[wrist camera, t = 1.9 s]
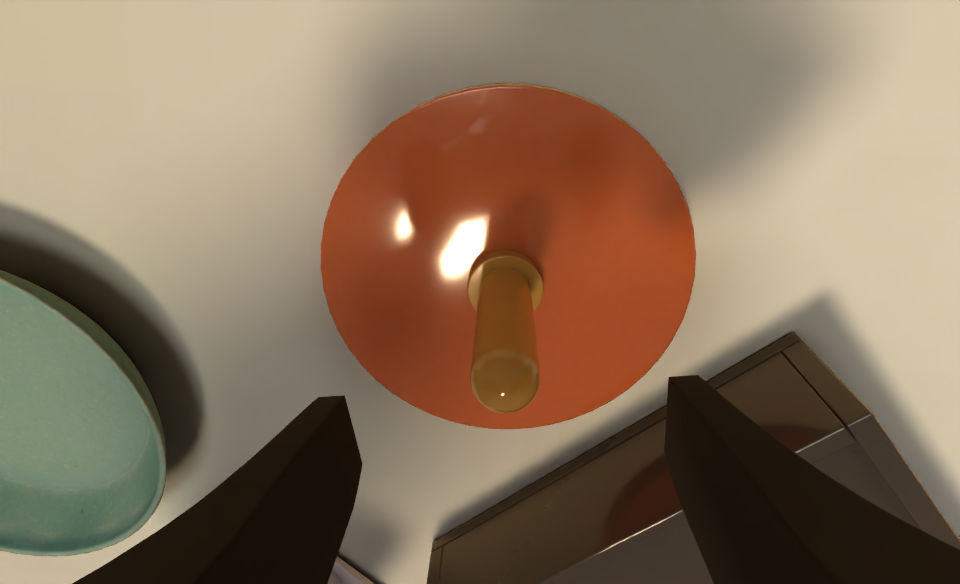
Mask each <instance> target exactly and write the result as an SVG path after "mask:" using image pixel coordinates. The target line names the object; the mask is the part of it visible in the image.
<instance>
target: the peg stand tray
mask: <svg viewBox="0 0 960 584" xmlns="http://www.w3.org/2000/svg"><path fill="white" fill-rule="evenodd" d="M707 383H708V384H709V385H710V386H711V387H713V388H714V389H715V390H716V391H717V392H718V393H720V394H721V395H722V396H723V397H724V398H726V399H727V400H728V401H729V402H730V403H732V404H733V405H734V406H735V407H736V408H738V409H739V410H740V411H741V412H742V413H744V414H745V415H746V416H747V417H749V418H750V419H751V420H752V421H753V422H755V423H756V424H757V425H759V426H760V427H761V428H762V429H764V430H765V431H766V432H767V433H769V434H770V435H771V436H773V437H774V438H775V439H777V440H778V441H779V442H781V443H782V444H783V445H785V446H786V447H787V448H789V449H790V450H791V451H793V452H794V453H796V454H797V455H799V456H800V457H801V458H803V459H804V460H806V461H807V462H809V463H810V464H811V465H813V466H814V467H816V468H817V469H819V470H820V471H822V472H823V473H825V474H826V475H828V476H829V477H831V478H832V479H834V480H835V481H837V482H838V483H840V484H842V485H843V486H845V487H847V488H848V489H850V490H852V491H853V492H855V493H856V494H858V495H860V496H861V497H863V498H865V499H866V500H868V501H869V502H871V503H873V504H875V505H876V506H878V507H880V508H882V509H883V510H885V511H887V512H889V513H890V514H892V515H894V516H896V517H897V518H899V519H901V520H903V521H905V522H907V523H909V524H911V525H913V526H914V527H916V528H918V529H920V530H922V531H924V532H926V533H928V534H930V535H931V536H933V537H935V538H937V539H939V540H941V541H943V542H945V543H947V544H949V545H951V546H953V547H955V548H957V549H959V550H960V540H959V539H958V537H957V536H956V534H955V533H954V531H953V530H952V528H951V527H950V526H949V524H948V523H947V521H946V520H945V518H944V517H943V515H942V514H941V512H940V511H939V509H938V508H937V507H936V505H935V504H934V502H933V501H932V499H931V498H930V496H929V495H928V493H927V492H926V490H925V489H924V488H923V486H922V485H921V483H920V482H919V480H918V479H917V477H916V476H915V474H914V473H913V471H912V470H911V469H910V467H909V466H908V464H907V463H906V461H905V460H904V458H903V457H902V455H901V454H900V452H899V451H898V450H897V448H896V447H895V445H894V444H893V442H892V441H891V439H890V438H889V436H888V435H887V434H886V432H885V431H884V429H883V428H882V426H881V425H880V423H879V422H878V420H877V419H876V417H875V416H874V415H873V413H872V412H871V411H870V410H869V409H868V408H867V407H866V406H865V405H864V404H863V403H862V402H861V401H860V400H859V399H858V397H857V396H856V395H855V394H854V393H853V392H852V391H851V390H850V389H849V388H848V387H847V386H846V385H845V384H844V383H843V382H842V381H841V380H840V379H839V378H838V377H837V376H836V375H835V374H834V373H833V372H832V371H831V370H830V369H829V368H828V367H827V366H826V364H825V363H824V362H823V361H822V360H821V359H820V358H819V357H818V356H817V355H816V354H815V353H814V352H813V351H812V350H811V349H810V348H809V347H808V346H807V345H806V344H805V343H804V342H803V341H802V340H801V339H800V338H799V337H798V336H797V335H796V334H795V333H794V332H792V333H790V334H788V335H786V336H785V337H783V338H781V339H780V340H778V341H776V342H774V343H773V344H771V345H769V346H768V347H766V348H764V349H762V350H761V351H759V352H757V353H756V354H754V355H752V356H750V357H749V358H747V359H745V360H744V361H742V362H740V363H738V364H737V365H735V366H733V367H732V368H730V369H728V370H727V371H725V372H723V373H721V374H720V375H718V376H716V377H715V378H713V379H711V380H709V381H708V382H707ZM666 413H667V406H665V407H663V408H661V409H660V410H658V411H656V412H655V413H653V414H651V415H649V416H648V417H646V418H644V419H643V420H641V421H639V422H637V423H636V424H634V425H632V426H631V427H629V428H627V429H625V430H624V431H622V432H620V433H619V434H617V435H615V436H614V437H612V438H610V439H608V440H607V441H605V442H603V443H602V444H600V445H598V446H596V447H595V448H593V449H591V450H590V451H588V452H586V453H584V454H583V455H581V456H579V457H578V458H576V459H574V460H572V461H571V462H569V463H567V464H566V465H564V466H562V467H560V468H559V469H557V470H555V471H554V472H552V473H550V474H548V475H547V476H545V477H543V478H542V479H540V480H538V481H536V482H535V483H533V484H531V485H530V486H528V487H526V488H524V489H523V490H521V491H519V492H518V493H516V494H514V495H512V496H511V497H509V498H507V499H506V500H504V501H502V502H500V503H499V504H497V505H495V506H494V507H492V508H490V509H489V510H487V511H485V512H483V513H482V514H480V515H478V516H477V517H475V518H473V519H471V520H470V521H468V522H466V523H465V524H463V525H461V526H459V527H458V528H456V529H454V530H453V531H451V532H449V533H447V534H446V535H444V536H442V537H441V538H439V539H437V540H435V541H434V542H433V543H432V550H431V552H432V553H431V557H430V564H429V571H428V578H427V584H714V583H713V581H712V578H711V576H710V574H709V571H708V569H707V567H706V564H705V562H704V559H703V557H702V555H701V552H700V550H699V547H698V545H697V543H696V540H695V538H694V536H693V533H692V531H691V528H690V526H689V524H688V521H687V519H686V516H685V514H684V511H683V509H682V507H681V504H680V502H679V499H678V497H677V494H676V491H675V488H674V484H673V481H672V477H671V474H670V470H669V467H668V463H667V459H666V455H665V452H664V444H665V428H666Z"/></svg>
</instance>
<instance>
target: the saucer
mask: <svg viewBox="0 0 960 584" xmlns="http://www.w3.org/2000/svg"><path fill="white" fill-rule="evenodd" d="M165 481H166V446H165V439H164V432H163V428H162V423H161V420H160V417H159V414H158V411H157V408H156V405H155V403H154V400H153V398H152V396H151V394H150V392H149V389H148V387H147V385H146V384H145V382H144V380H143V378H142V376H141V375H140V373H139V372H138V370H137V369H136V367H135V366H134V364H133V363H132V361H131V360H130V359H129V357H128V356H127V355H126V353H125V352H124V351H123V350H122V349H121V347H120V346H119V345H118V344H117V343H116V342H115V341H114V340H113V339H112V338H111V337H110V336H109V335H108V334H107V333H106V332H105V331H104V330H103V329H102V328H101V327H100V326H99V325H98V324H96V323H95V322H94V321H93V320H91V319H90V318H89V317H88V316H86V315H85V314H84V313H83V312H81V311H80V310H78V309H77V308H75V307H74V306H72V305H71V304H69V303H68V302H66V301H65V300H63V299H61V298H60V297H58V296H56V295H54V294H52V293H51V292H49V291H47V290H45V289H43V288H41V287H39V286H37V285H35V284H33V283H31V282H29V281H27V280H24V279H22V278H20V277H17V276H15V275H12V274H10V273H7V272H5V271H2V270H0V551H6V552H11V553H15V554H24V555H34V556H71V555H78V554H82V553H89V552H92V551H97V550H100V549H103V548H105V547H109V546H112V545H115V544H117V543H118V542H120V541H123V540H124V539H126V538H128V537H130V536H131V535H132V534H134V533H135V532H136V531H138V530H139V529H140V528H141V527H142V526H143V525H144V524H145V523H146V522H147V521H148V520H149V518H150V517H151V516H152V515H153V513H154V511H155V510H156V508H157V506H158V505H159V502H160V500H161V497H162V495H163V491H164V487H165Z"/></svg>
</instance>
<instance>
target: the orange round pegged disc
mask: <svg viewBox="0 0 960 584" xmlns="http://www.w3.org/2000/svg"><path fill="white" fill-rule="evenodd" d="M695 259H696V250H695V239H694V229H693V225H692V221H691V217H690V213H689V209H688V206H687V203H686V201H685V199H684V196H683V194H682V191H681V189H680V186H679V184H678V182H677V181H676V179H675V177H674V176H673V174H672V173H671V171H670V169H669V168H668V166H667V164H666V163H665V161H664V160H663V159H662V158H661V157H660V155H659V154H658V153H657V152H656V151H655V149H654V148H653V147H652V146H651V145H650V143H649V142H648V141H647V140H645V139H644V138H643V137H642V136H641V135H640V134H639V133H638V132H636V131H635V130H634V129H633V128H632V127H631V126H630V125H628V124H627V123H626V122H624V121H623V120H621V119H620V118H618V117H617V116H615V115H614V114H612V113H611V112H609V111H608V110H606V109H605V108H603V107H601V106H599V105H597V104H595V103H593V102H591V101H589V100H586V99H584V98H582V97H580V96H578V95H575V94H571V93H568V92H565V91H561V90H558V89H555V88H551V87H545V86H538V85H532V84H525V83H494V84H486V85H479V86H471V87H467V88H463V89H460V90H456V91H452V92H449V93H445V94H442V95H440V96H438V97H435V98H433V99H431V100H429V101H426V102H424V103H422V104H419V105H418V106H416V107H415V108H413V109H411V110H410V111H408V112H406V113H405V114H403V115H401V116H400V117H398V118H397V119H396V120H394V121H393V122H392V123H391V124H389V125H388V126H387V127H386V128H385V129H383V130H382V131H381V132H380V133H378V134H377V135H376V136H375V137H374V138H373V139H372V140H371V141H370V142H369V143H368V144H367V145H366V146H365V147H364V148H363V150H362V151H361V152H360V153H359V154H358V155H357V156H356V157H355V159H354V160H353V162H352V163H351V165H350V166H349V168H348V169H347V171H346V172H345V174H344V175H343V177H342V178H341V181H340V183H339V185H338V187H337V189H336V191H335V193H334V195H333V197H332V200H331V203H330V206H329V209H328V212H327V216H326V219H325V222H324V229H323V235H322V242H321V273H322V280H323V287H324V292H325V296H326V299H327V303H328V307H329V310H330V313H331V315H332V317H333V320H334V322H335V324H336V327H337V329H338V331H339V333H340V334H341V336H342V338H343V340H344V341H345V343H346V345H347V346H348V348H349V349H350V351H351V352H352V353H353V355H354V356H355V357H356V358H357V360H358V361H359V362H360V364H361V365H362V366H363V367H364V368H365V369H366V370H367V371H368V372H369V373H370V374H371V375H372V376H373V377H374V378H375V379H376V380H377V381H378V382H379V383H381V384H382V385H383V386H384V387H386V388H387V389H388V390H389V391H391V392H392V393H393V394H395V395H396V396H398V397H400V398H401V399H403V400H404V401H406V402H407V403H409V404H411V405H413V406H415V407H417V408H419V409H421V410H423V411H425V412H427V413H429V414H432V415H435V416H438V417H440V418H443V419H446V420H449V421H453V422H457V423H461V424H465V425H469V426H476V427H483V428H491V429H521V428H533V427H539V426H545V425H551V424H555V423H559V422H562V421H566V420H569V419H573V418H575V417H578V416H580V415H583V414H585V413H588V412H590V411H593V410H595V409H596V408H598V407H600V406H602V405H604V404H606V403H608V402H610V401H611V400H613V399H614V398H616V397H617V396H619V395H620V394H622V393H623V392H625V391H626V390H627V389H629V388H630V387H631V386H632V385H634V384H635V383H636V382H637V381H638V380H639V379H640V378H641V377H643V376H644V375H645V374H646V373H647V372H648V371H649V370H650V368H651V367H652V366H653V365H654V364H655V363H656V362H657V361H658V359H659V358H660V357H661V356H662V354H663V353H664V351H665V350H666V348H667V347H668V345H669V344H670V343H671V341H672V340H673V338H674V336H675V334H676V332H677V330H678V328H679V326H680V324H681V322H682V320H683V317H684V315H685V312H686V309H687V306H688V303H689V300H690V296H691V292H692V287H693V282H694V277H695Z"/></svg>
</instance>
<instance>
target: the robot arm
mask: <svg viewBox="0 0 960 584" xmlns="http://www.w3.org/2000/svg"><path fill="white" fill-rule="evenodd" d="M664 452H665V455H666V459H667V463H668V467H669V470H670V474H671V477H672V481H673V484H674V488H675V491H676V494H677V497H678V499H679V502H680V504H681V507H682V509H683V511H684V514H685V516H686V519H687V521H688V524H689V526H690V528H691V531H692V533H693V536H694V538H695V540H696V543H697V545H698V547H699V550H700V552H701V555H702V557H703V559H704V562H705V564H706V567H707V569H708V571H709V574H710V576H711V578H712V581H713V583H714V584H960V550H959V549H957V548H955V547H953V546H951V545H949V544H947V543H945V542H943V541H941V540H939V539H937V538H935V537H933V536H931V535H930V534H928V533H926V532H924V531H922V530H920V529H918V528H916V527H914V526H913V525H911V524H909V523H907V522H905V521H903V520H901V519H899V518H897V517H896V516H894V515H892V514H890V513H889V512H887V511H885V510H883V509H882V508H880V507H878V506H876V505H875V504H873V503H871V502H869V501H868V500H866V499H865V498H863V497H861V496H860V495H858V494H856V493H855V492H853V491H852V490H850V489H848V488H847V487H845V486H843V485H842V484H840V483H838V482H837V481H835V480H834V479H832V478H831V477H829V476H828V475H826V474H825V473H823V472H822V471H820V470H819V469H817V468H816V467H814V466H813V465H811V464H810V463H809V462H807V461H806V460H804V459H803V458H801V457H800V456H799V455H797V454H796V453H794V452H793V451H791V450H790V449H789V448H787V447H786V446H785V445H783V444H782V443H781V442H779V441H778V440H777V439H775V438H774V437H773V436H771V435H770V434H769V433H767V432H766V431H765V430H764V429H762V428H761V427H760V426H759V425H757V424H756V423H755V422H753V421H752V420H751V419H750V418H749V417H747V416H746V415H745V414H744V413H742V412H741V411H740V410H739V409H738V408H736V407H735V406H734V405H733V404H732V403H730V402H729V401H728V400H727V399H726V398H724V397H723V396H722V395H721V394H720V393H718V392H717V391H716V390H715V389H714V388H713V387H711V386H710V385H709V384H708V383H707V382H705V381H704V380H703V379H702V378H700V377H699V376H698V375H696V376H679V377H669V381H668V397H667V413H666V428H665V444H664ZM361 469H362V460H361V457H360V453H359V449H358V445H357V441H356V437H355V434H354V430H353V426H352V422H351V418H350V414H349V411H348V407H347V403H346V399H345V396H329V397H318V398H317V399H316V400H315V401H313V402H312V403H311V404H310V405H309V406H308V407H307V408H306V409H304V410H303V411H302V412H301V413H300V414H299V415H298V416H297V417H296V418H295V419H294V420H293V421H292V422H290V423H289V424H288V425H287V426H286V427H285V428H284V429H283V430H282V431H281V432H280V433H279V434H278V435H276V436H275V437H274V438H273V439H272V440H271V441H270V442H269V443H268V444H267V445H265V446H264V447H263V448H262V449H261V450H260V451H259V452H258V453H257V454H256V455H254V456H253V457H252V458H251V459H250V460H249V461H248V462H246V463H245V464H244V465H243V466H242V467H240V468H239V469H238V470H237V471H236V472H234V473H233V474H232V475H231V476H230V477H229V478H227V479H226V480H225V481H224V482H223V483H221V484H220V485H219V486H218V487H217V488H215V489H214V490H213V491H212V492H210V493H209V494H208V495H207V496H205V497H204V498H203V499H201V500H200V501H199V502H198V503H196V504H195V505H194V506H192V507H191V508H190V509H188V510H187V511H185V512H184V513H183V514H181V515H180V516H178V517H177V518H176V519H174V520H173V521H171V522H170V523H169V524H167V525H166V526H164V527H163V528H161V529H160V530H159V531H157V532H156V533H154V534H152V535H151V536H149V537H148V538H146V539H145V540H143V541H142V542H140V543H138V544H137V545H135V546H134V547H132V548H131V549H129V550H127V551H126V552H124V553H123V554H121V555H120V556H118V557H116V558H115V559H113V560H112V561H110V562H109V563H107V564H105V565H104V566H102V567H100V568H99V569H97V570H95V571H93V572H92V573H90V574H88V575H86V576H85V577H83V578H81V579H80V580H78V581H76V582H74V583H73V584H374V583H373V582H372V581H370V580H369V579H367V578H366V577H365V576H363V575H362V574H361V573H359V572H358V571H357V570H355V569H354V568H353V567H351V566H350V565H348V564H347V563H346V562H344V561H343V560H342V559H340V558H339V557H338V556H337V555H338V552H339V549H340V546H341V543H342V540H343V537H344V534H345V531H346V528H347V525H348V522H349V519H350V516H351V513H352V510H353V507H354V503H355V499H356V494H357V489H358V485H359V479H360V474H361Z"/></svg>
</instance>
